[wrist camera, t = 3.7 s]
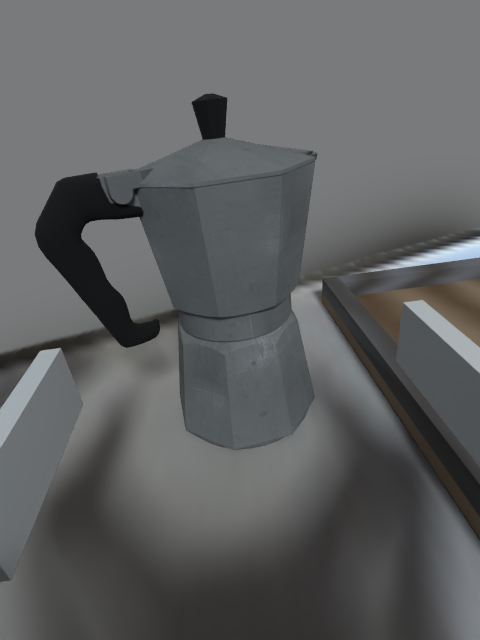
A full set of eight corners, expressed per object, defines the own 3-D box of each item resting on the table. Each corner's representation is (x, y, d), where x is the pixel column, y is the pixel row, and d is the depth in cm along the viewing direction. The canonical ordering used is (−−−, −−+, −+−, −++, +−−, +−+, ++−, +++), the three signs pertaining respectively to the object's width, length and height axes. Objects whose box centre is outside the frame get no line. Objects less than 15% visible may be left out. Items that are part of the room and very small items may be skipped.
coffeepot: (273, 336, 32) (256, 94, 23) (364, 388, 25) (390, 73, 16) (98, 425, 25) (-23, 119, 16) (159, 533, 18) (7, 99, 9)
